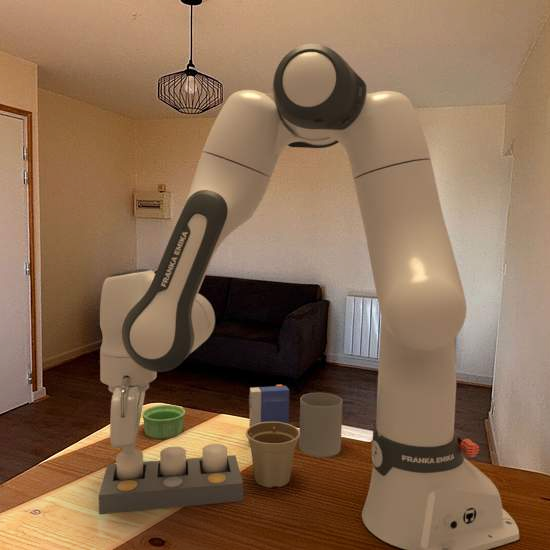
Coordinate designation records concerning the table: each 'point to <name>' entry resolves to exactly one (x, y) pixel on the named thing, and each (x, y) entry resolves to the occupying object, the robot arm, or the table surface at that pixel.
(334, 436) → the cup
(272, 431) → the flower pot
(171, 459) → the button
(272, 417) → the walkman
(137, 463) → the button
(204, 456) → the button
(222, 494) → the board
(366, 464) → the table surface
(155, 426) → the ramekin
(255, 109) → the robot arm
